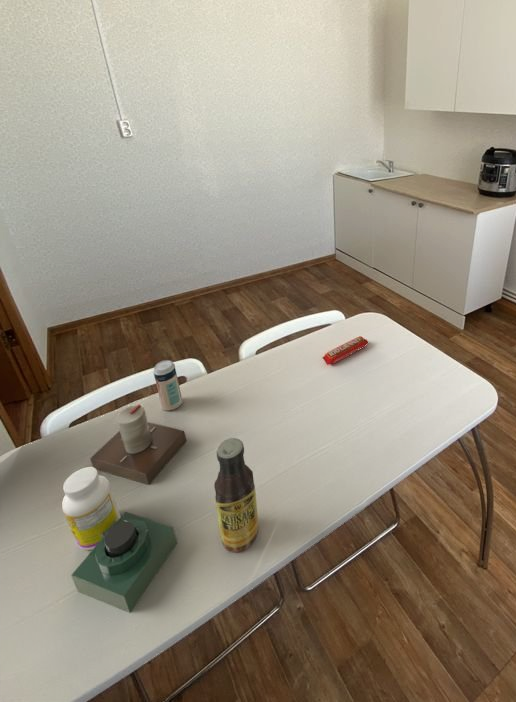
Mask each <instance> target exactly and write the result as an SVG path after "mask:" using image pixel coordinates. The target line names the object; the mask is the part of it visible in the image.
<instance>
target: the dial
mask: <svg viewBox="0 0 516 702" xmlns="http://www.w3.org/2000/svg"><path fill="white" fill-rule="evenodd" d="M148 422H149V421H148V418H147V414H146V409H145V407H144V406H142V405H141V404H139V403H138V404H135V405H130V406H128V407H126V408H124V409H122V410H121V411H120V412H119V413H118V414H117V416H116V423H117V427H118V430H119V431H120V433H121V437H122V440H123V443H124V447H125V450H126V452H128V453H130V454H134V453H138V452H141V451H143V450H144V449H146V448H147V447H148V446H149V445H150V444H151V442H152V436H151V433H150V429H149V425H148Z"/></svg>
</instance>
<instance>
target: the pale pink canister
mask: <svg viewBox="0 0 516 702" xmlns="http://www.w3.org/2000/svg"><path fill="white" fill-rule="evenodd" d="M152 374H153V376H154V380H155V384H156V388H157V393H158V397H159V400H160V405H161V409H162V410H164V411H174V410H175V409H178V408H179V407H180V406H181V405H182V403H183V401H184V400H183V397H182V392H181V387H180V383H179V378H178V374H177V370H176V364H175V363H174V362H173V361H172V360H169V359H166V360H161V361H158V362H157V363H156V364H155V365H154V368H153V370H152Z"/></svg>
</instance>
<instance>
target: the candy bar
mask: <svg viewBox="0 0 516 702" xmlns="http://www.w3.org/2000/svg"><path fill="white" fill-rule="evenodd" d="M368 342H369V340H368V339H366V338H364V337H363V336H361V335H360V336H357V337H355V338H352V339H351V340H348V341H346V342H344V343H342V344H341V345H339V346H337V347H335V348H333V349H331V350H329V351H327V352H326V353H325V354H324V355H323V356H322V357H321V358H322V359H323V361H324V362H325V364H326V365H327V366H329V365H331V364H332V365H334V364H336V363H338V362H340V361H342V360H344V359H346V358H347V357H346V356H348V355H350V354H351V353H353V352H355V351H357V350H358V349H360V348H362V347H364V346H365V345H366V344H367V343H368ZM367 345H368V344H367ZM367 345H366V346H367ZM364 348H365V347H364ZM362 349H363V348H362ZM357 352H358V351H357ZM355 353H356V352H355ZM353 354H354V353H353ZM351 355H352V354H351ZM351 355H350V356H351ZM345 357H346V358H345ZM348 357H349V356H348ZM343 358H344V359H343ZM341 359H342V360H341ZM339 360H340V361H339ZM337 361H338V362H337ZM332 365H331V366H332Z"/></svg>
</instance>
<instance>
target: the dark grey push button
mask: <svg viewBox="0 0 516 702" xmlns="http://www.w3.org/2000/svg"><path fill="white" fill-rule="evenodd" d="M136 539H137V534H136V531H135V528H134V525H133V524H132V523H131V522H128V521H126V522H121V523H119V524H117V525H116V526H114V527H113V528H112V529H111V530H110V531H109V532H108V533H107V535H106V537H105V541H104V543H105V546H106V549H107V552H108V554H109V555H110V556H112V557H118V556H121V555H123V554H125V553H126V552H128V551H129V550H130V549H131V548H132V547H133V545H134V544H135V542H136Z"/></svg>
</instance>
